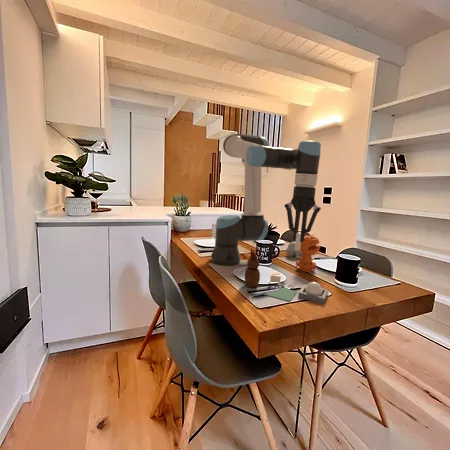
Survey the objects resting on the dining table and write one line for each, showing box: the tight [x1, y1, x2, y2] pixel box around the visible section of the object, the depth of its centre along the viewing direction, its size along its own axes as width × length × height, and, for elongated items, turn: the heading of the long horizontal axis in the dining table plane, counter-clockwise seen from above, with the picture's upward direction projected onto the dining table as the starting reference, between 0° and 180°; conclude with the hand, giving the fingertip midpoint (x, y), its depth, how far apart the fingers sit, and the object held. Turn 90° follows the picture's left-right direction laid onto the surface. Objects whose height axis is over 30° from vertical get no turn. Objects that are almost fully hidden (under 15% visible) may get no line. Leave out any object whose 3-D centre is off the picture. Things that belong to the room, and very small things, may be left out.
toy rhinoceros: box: [285, 241, 303, 260], centre depth 150 cm, size 7×12×8 cm, turn 26°
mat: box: [263, 287, 298, 302], centre depth 100 cm, size 10×10×1 cm
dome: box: [304, 281, 324, 297], centre depth 99 cm, size 6×6×5 cm
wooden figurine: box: [244, 247, 261, 288], centre depth 105 cm, size 7×6×15 cm
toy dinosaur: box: [295, 234, 322, 273], centre depth 128 cm, size 11×11×18 cm
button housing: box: [297, 284, 329, 305], centre depth 100 cm, size 9×9×2 cm
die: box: [269, 272, 282, 286], centre depth 110 cm, size 4×4×4 cm
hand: (297, 249), depth 99 cm, fingers closed
